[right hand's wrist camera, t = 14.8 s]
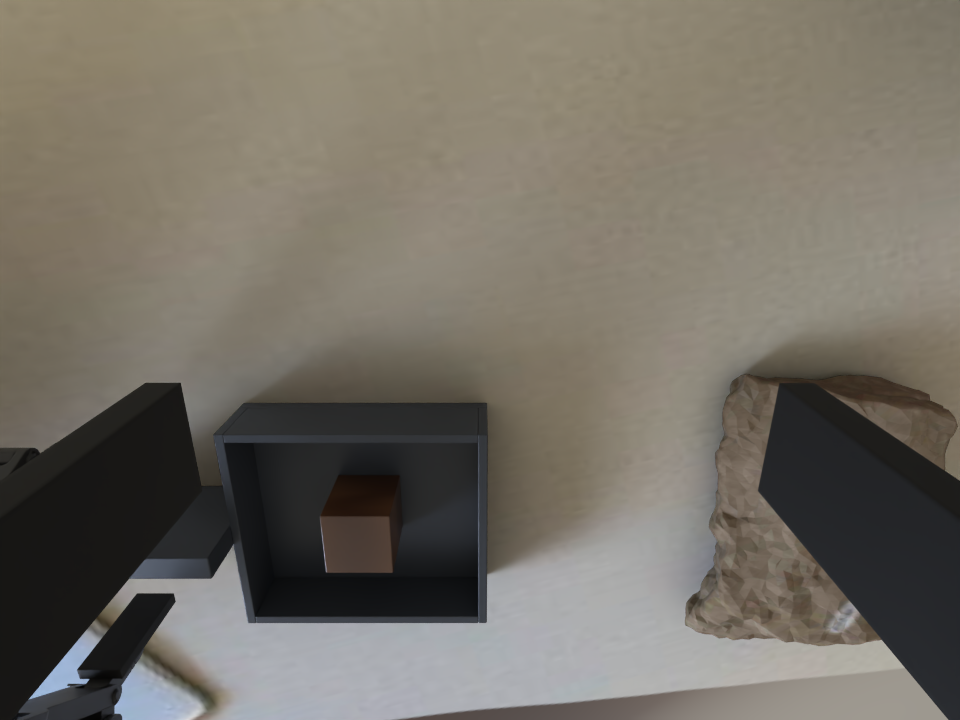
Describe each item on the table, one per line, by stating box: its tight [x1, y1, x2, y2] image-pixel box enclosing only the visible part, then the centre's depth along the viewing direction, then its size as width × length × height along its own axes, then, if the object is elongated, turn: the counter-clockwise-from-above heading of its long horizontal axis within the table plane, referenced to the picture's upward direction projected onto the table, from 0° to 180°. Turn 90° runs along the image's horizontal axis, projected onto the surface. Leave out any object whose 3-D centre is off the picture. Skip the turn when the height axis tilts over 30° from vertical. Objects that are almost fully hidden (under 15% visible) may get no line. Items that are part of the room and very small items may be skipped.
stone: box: [685, 374, 958, 646], centre depth 39 cm, size 21×15×6 cm
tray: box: [129, 403, 488, 623], centre depth 38 cm, size 27×15×8 cm, turn 90°
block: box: [320, 475, 403, 573], centre depth 39 cm, size 4×4×5 cm
